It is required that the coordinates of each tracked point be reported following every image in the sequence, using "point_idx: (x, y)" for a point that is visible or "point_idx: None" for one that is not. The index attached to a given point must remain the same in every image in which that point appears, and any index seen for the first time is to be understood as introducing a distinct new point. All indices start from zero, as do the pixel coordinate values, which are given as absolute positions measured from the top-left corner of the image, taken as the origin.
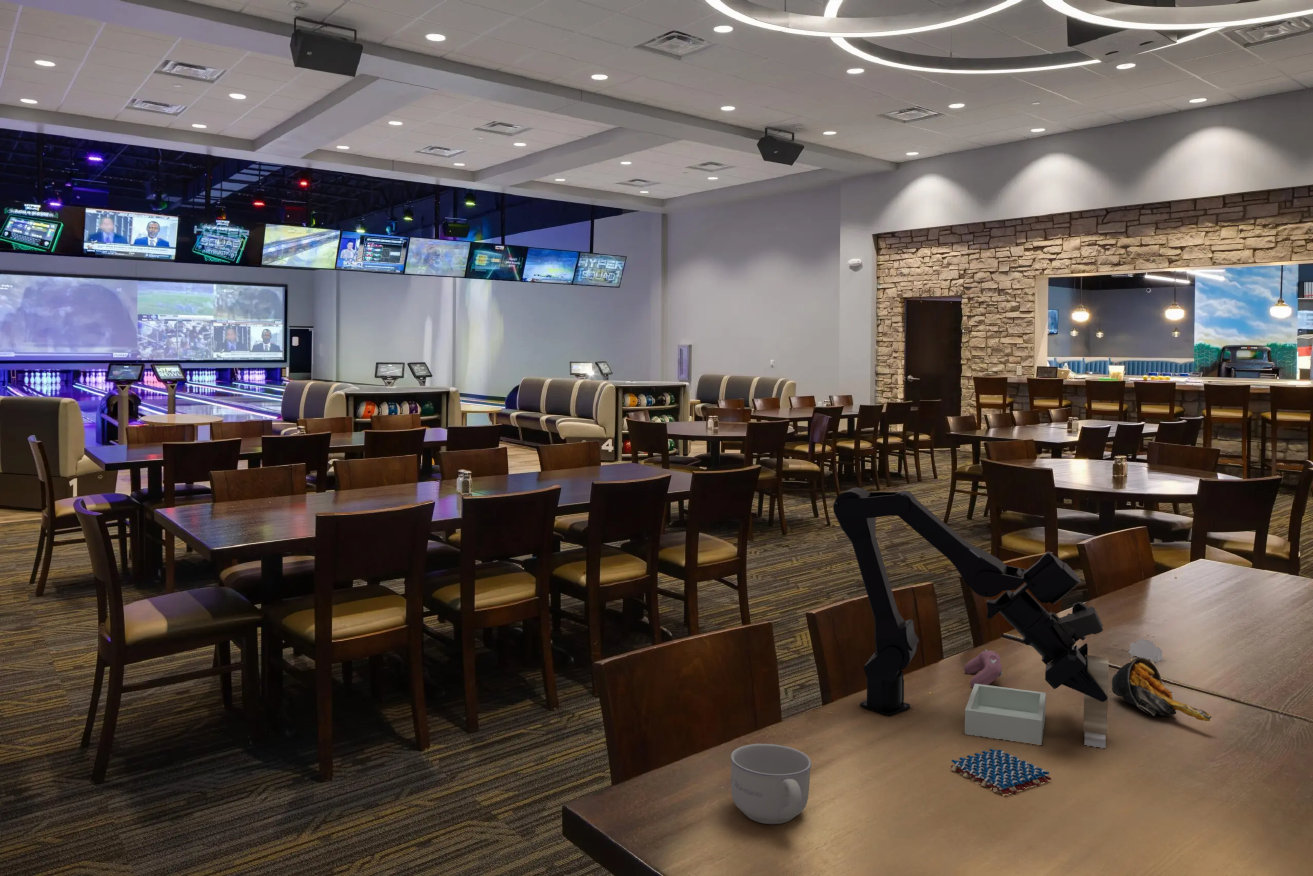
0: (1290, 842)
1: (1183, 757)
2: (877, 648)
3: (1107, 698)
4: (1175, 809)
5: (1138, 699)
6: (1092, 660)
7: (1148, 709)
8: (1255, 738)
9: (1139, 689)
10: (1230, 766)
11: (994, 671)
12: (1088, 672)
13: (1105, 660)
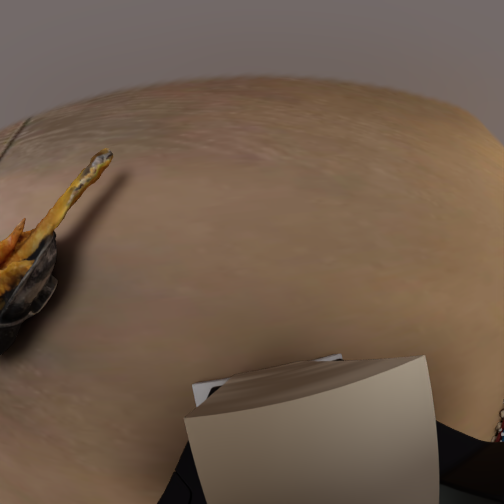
0: (442, 106)
1: (270, 198)
2: None
3: (341, 359)
4: (476, 198)
5: (28, 307)
6: (400, 502)
7: (53, 286)
8: (106, 128)
9: (19, 296)
10: (262, 134)
11: None
12: (473, 443)
13: (335, 420)
